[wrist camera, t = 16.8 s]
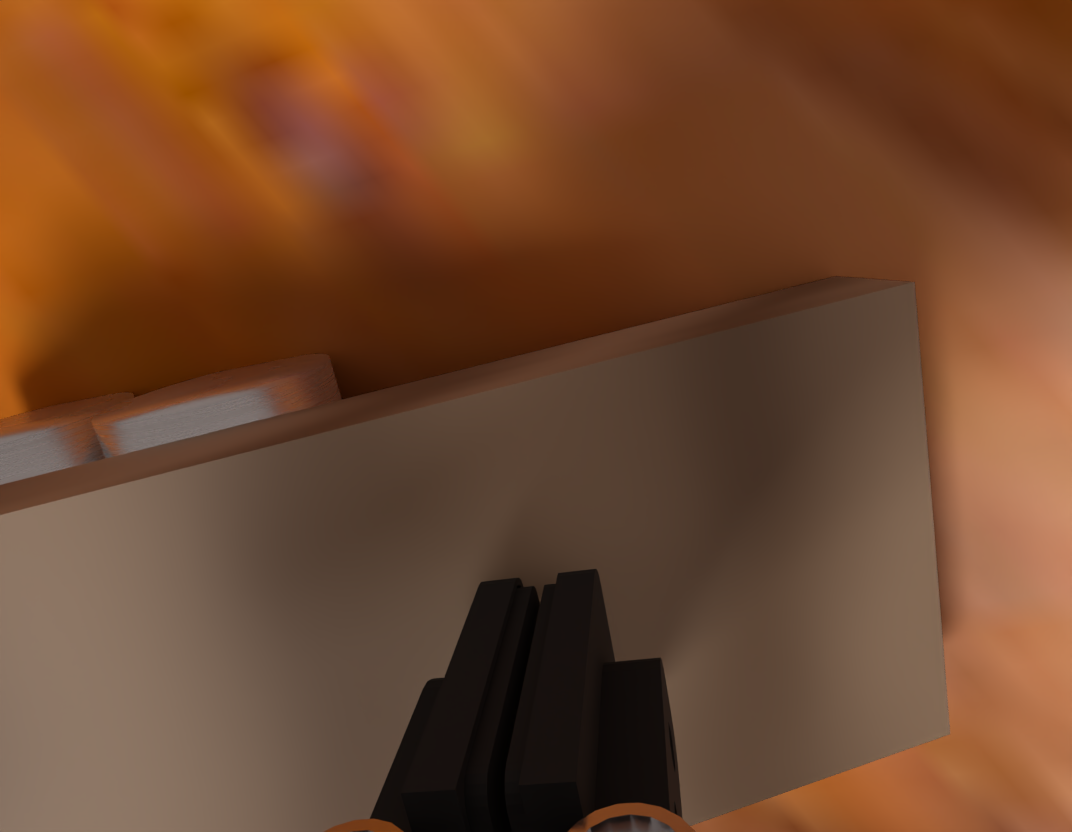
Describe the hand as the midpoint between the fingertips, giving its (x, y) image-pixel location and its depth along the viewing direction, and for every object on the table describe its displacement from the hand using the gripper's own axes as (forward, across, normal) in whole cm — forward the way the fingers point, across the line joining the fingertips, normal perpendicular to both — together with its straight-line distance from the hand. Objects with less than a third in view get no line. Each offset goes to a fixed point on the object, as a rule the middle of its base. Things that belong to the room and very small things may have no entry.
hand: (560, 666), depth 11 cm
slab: (+2, +3, 0) cm, 4 cm away
